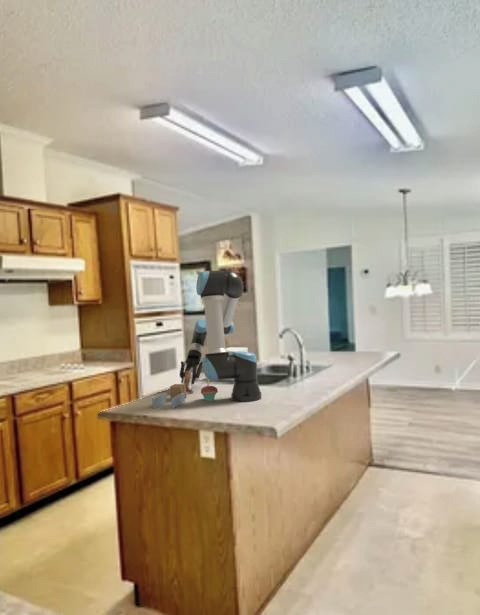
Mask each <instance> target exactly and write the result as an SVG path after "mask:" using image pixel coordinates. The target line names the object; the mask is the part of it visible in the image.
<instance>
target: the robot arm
mask: <svg viewBox="0 0 480 615" xmlns="http://www.w3.org/2000/svg"><path fill="white" fill-rule="evenodd" d="M242 280H243V279H242V278H241V276H239V274H238V273H236V272H235V271H233V270H229V269H228V270H227V269H225V270H206V271H205V270H204V271H201V272H199V273H198V275H197V279H196V287H195V289H196V290H195V291H196V295H197V296H199V297H200V300H202V301H203V305H204V316H205V318H200V319H197V321H196V323H195V325H194V330H193V334H192V338H191V342H190V346H189V349H188V352H187V353H188V354H187V356H186V359H185V361H184V360H183V361H180V369H179V370H180V371H179V378H180V379H181V382H180V383H181V384H185V371H191V369H192V372H191V378H190V382H189V386H188V388H189V390H191V387H192V388H193V385H194V384H195V380H196V379H199V378H200V377H201V376H200V375H201V372H202V369H203V374H204V376H205V378H206V380H207V379H208V380H209V382H210V381H211V382H213V381H216V382H217V381H222V380H225V379H234V381H233V386H232V392H231V393H230V394H231V395H230V397H231V400H232V401H236V402H253V401H254V402H255V401H257V400H260V399H262V397H263V396H262V392H261V390H260V386H259V383H258V367H257V366H258V365H257V364H258V361H257V356H256V354H255V353H253V352H249V351H248V352H239V351H236V352H233V355H229V351H228V350H226V342H225V335H231V334H233V333H234V331H235V324H234V322H233V318H234V315H235V312H236V308H237V306H238V302H239V299H240V298H241V297H242V296H243V293H244V283H243V281H242ZM222 300H223V301H222ZM206 341H207V342H206ZM205 343H207V351H206V352H205V353H204V354H205V355H204V356H203V358H202V355H203V351H204V347H205ZM201 359H202V360H201ZM197 367H198V368H197Z"/></svg>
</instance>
